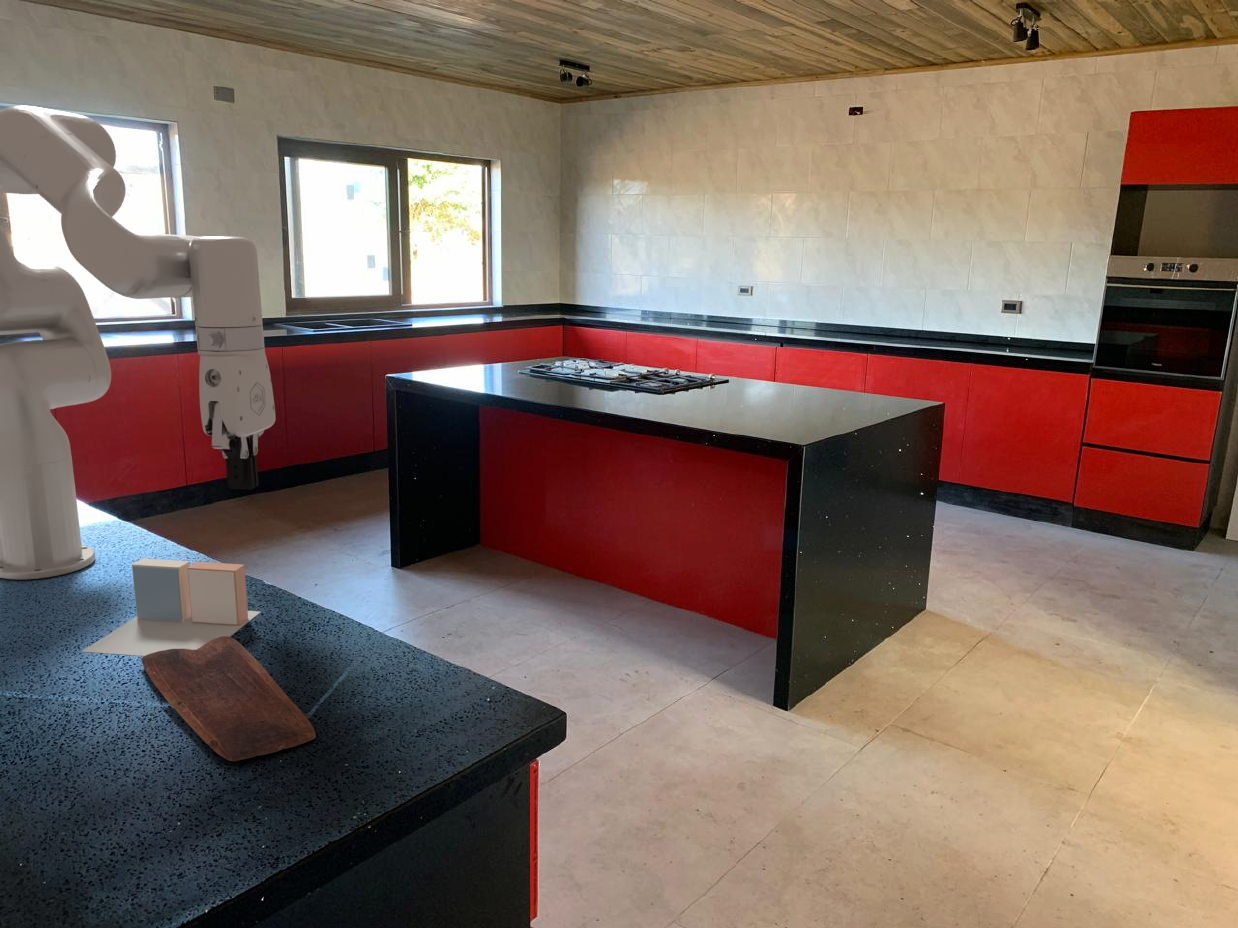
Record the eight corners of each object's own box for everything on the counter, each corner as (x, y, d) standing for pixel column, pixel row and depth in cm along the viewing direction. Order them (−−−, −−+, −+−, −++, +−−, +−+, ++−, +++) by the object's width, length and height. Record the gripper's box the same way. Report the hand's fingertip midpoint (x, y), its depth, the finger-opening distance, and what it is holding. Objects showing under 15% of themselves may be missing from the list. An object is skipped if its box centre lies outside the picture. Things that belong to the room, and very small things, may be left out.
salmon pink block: (190, 623, 110) (186, 568, 108) (201, 615, 112) (197, 561, 110) (238, 626, 109) (234, 571, 108) (248, 618, 111) (244, 564, 110)
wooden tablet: (325, 725, 85) (213, 749, 78) (323, 748, 85) (212, 772, 79) (232, 630, 104) (136, 642, 98) (231, 648, 105) (135, 662, 98)
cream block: (136, 619, 110) (130, 564, 109) (147, 611, 113) (142, 558, 111) (183, 622, 110) (178, 567, 108) (193, 614, 112) (189, 561, 110)
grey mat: (81, 654, 101) (81, 651, 101) (155, 607, 115) (155, 604, 115) (200, 663, 100) (200, 659, 100) (261, 614, 114) (260, 611, 114)
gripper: (228, 347, 102) (242, 504, 106) (288, 336, 117) (298, 474, 121) (165, 346, 103) (181, 502, 107) (232, 335, 117) (244, 473, 121)
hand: (243, 487), depth 114 cm, fingers closed
